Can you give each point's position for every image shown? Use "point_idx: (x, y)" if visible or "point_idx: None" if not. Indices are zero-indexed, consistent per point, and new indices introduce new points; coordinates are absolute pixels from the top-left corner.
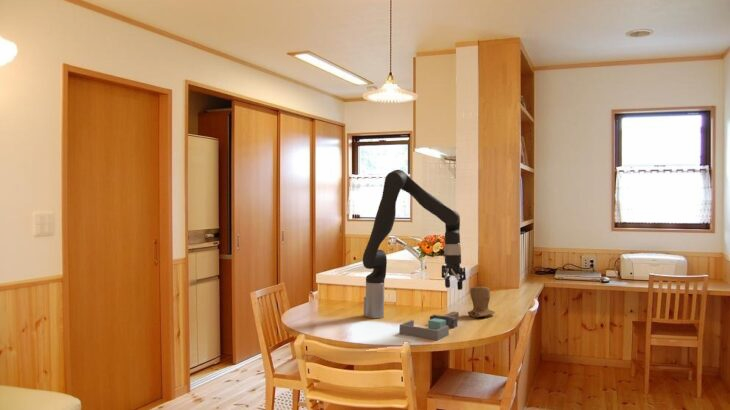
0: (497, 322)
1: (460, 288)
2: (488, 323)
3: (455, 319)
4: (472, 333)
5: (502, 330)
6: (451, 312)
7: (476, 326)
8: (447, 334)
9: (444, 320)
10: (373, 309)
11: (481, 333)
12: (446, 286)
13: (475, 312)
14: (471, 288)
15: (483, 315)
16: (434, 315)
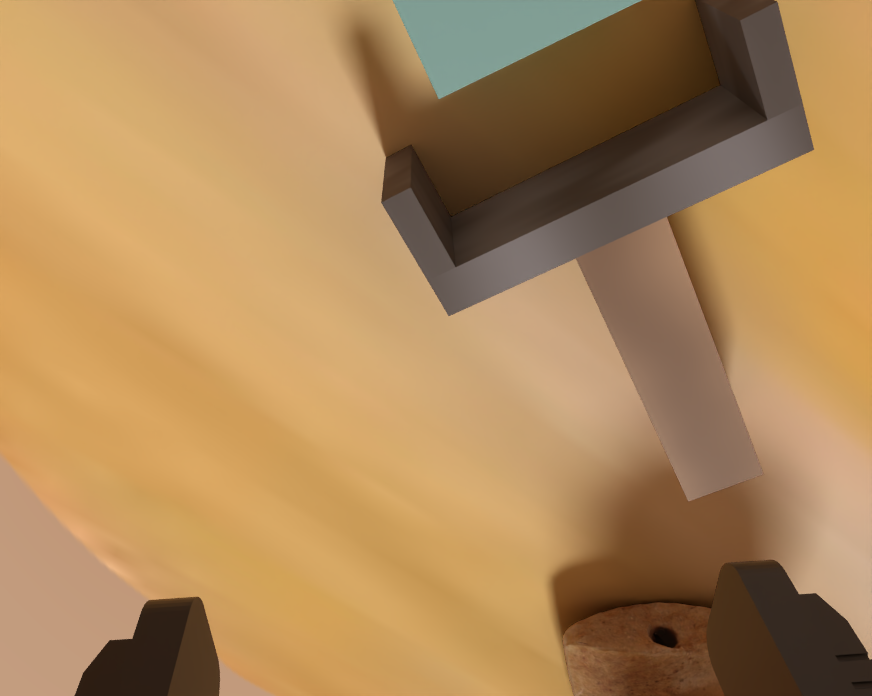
0: (397, 645)
1: (114, 659)
2: (402, 577)
3: (416, 255)
4: (63, 200)
5: (113, 525)
6: (734, 430)
7: (348, 430)
8: None
9: (421, 49)
10: None
11: (40, 291)
12: (741, 584)
13: (634, 645)
14: None
15: (566, 659)
16: (766, 115)
